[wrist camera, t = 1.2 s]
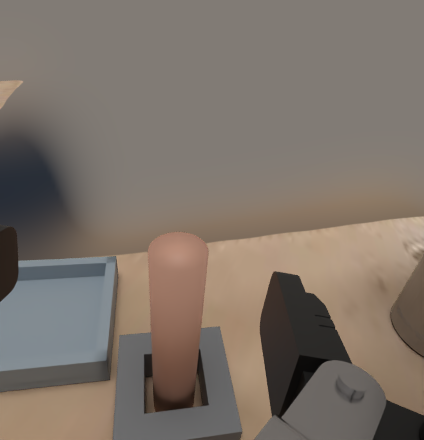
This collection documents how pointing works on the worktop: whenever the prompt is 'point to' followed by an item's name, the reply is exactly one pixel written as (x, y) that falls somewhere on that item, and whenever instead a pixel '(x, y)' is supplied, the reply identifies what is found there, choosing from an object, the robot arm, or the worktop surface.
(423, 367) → the worktop surface
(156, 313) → the dowel
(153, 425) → the socket block
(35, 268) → the tray
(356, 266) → the worktop surface
